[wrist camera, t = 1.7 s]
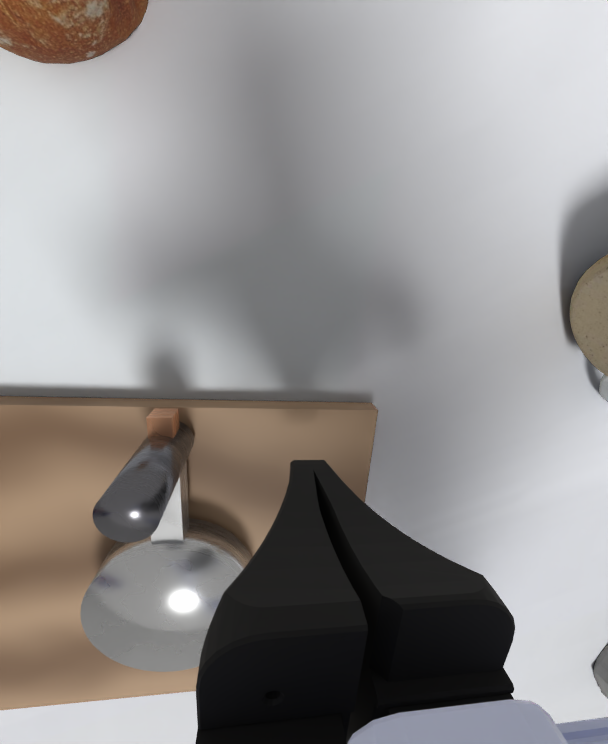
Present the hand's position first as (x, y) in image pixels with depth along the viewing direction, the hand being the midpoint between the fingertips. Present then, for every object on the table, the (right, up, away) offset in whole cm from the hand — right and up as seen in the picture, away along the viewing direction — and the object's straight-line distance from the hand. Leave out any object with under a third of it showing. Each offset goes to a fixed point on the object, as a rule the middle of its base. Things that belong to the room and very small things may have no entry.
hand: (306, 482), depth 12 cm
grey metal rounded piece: (-7, -4, +4) cm, 9 cm away
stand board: (-9, -7, +6) cm, 12 cm away
